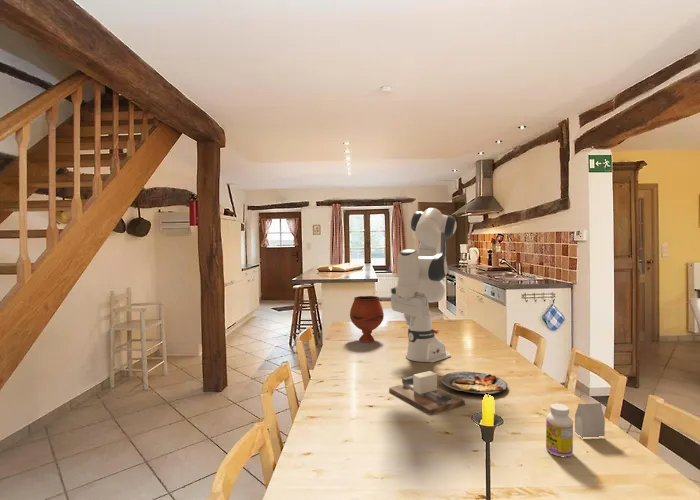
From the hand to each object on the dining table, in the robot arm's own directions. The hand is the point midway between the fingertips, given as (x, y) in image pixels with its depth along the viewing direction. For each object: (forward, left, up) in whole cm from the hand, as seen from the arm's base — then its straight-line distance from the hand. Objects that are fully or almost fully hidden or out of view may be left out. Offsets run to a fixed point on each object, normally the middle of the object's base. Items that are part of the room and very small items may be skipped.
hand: (410, 325), depth 165 cm
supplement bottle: (-5, +60, -25) cm, 65 cm away
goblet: (-23, -71, -25) cm, 79 cm away
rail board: (+2, +11, -25) cm, 27 cm away
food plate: (-22, +12, -25) cm, 36 cm away
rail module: (+2, +11, -23) cm, 26 cm away
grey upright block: (-21, +59, -25) cm, 68 cm away
